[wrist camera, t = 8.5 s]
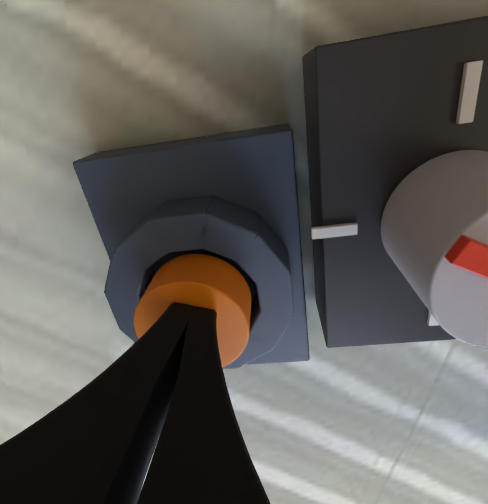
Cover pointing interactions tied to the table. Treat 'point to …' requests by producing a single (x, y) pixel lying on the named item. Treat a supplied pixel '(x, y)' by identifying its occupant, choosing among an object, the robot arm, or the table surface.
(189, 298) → the button
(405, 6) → the table surface
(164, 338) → the robot arm
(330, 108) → the dial panel
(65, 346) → the table surface
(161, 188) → the button base
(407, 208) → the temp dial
